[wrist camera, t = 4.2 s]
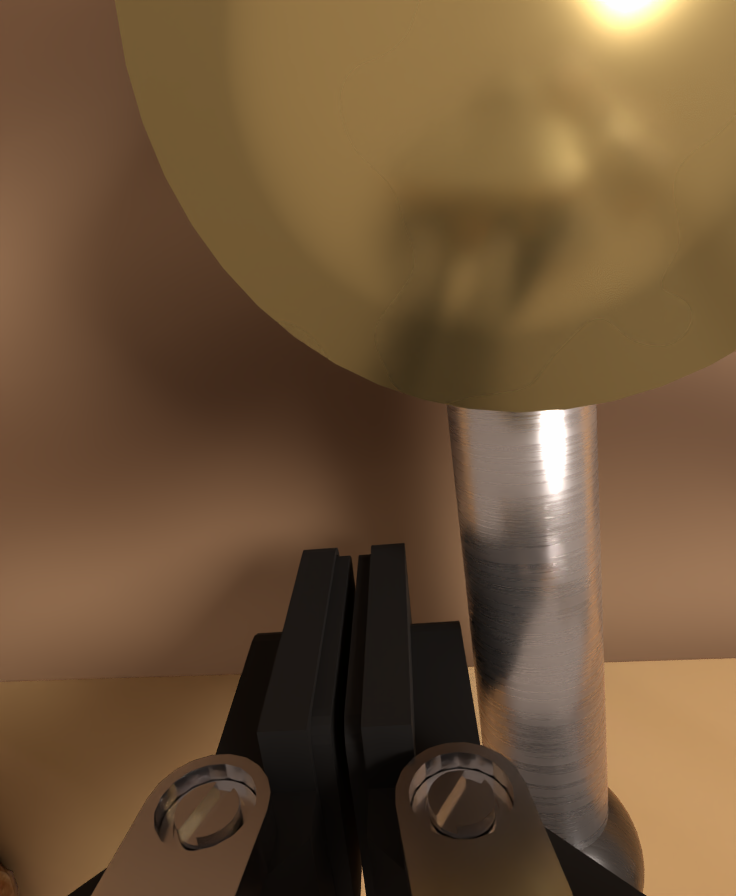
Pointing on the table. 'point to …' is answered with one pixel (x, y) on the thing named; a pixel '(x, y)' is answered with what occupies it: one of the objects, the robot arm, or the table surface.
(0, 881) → the bread roll
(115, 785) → the table surface
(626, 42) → the lever
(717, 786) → the table surface
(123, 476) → the stand
